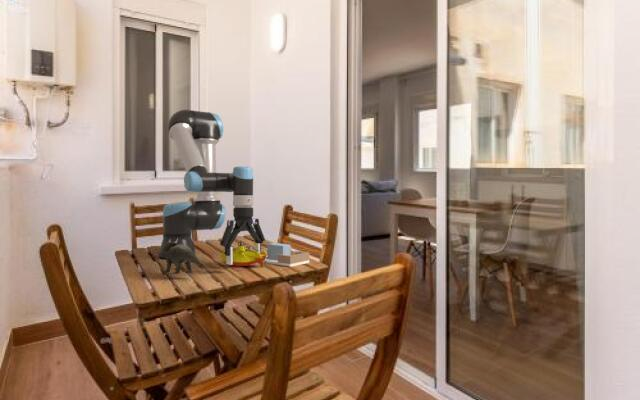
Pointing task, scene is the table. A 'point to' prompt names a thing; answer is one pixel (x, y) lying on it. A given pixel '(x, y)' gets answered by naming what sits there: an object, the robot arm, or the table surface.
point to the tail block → (277, 250)
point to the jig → (285, 258)
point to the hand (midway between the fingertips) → (243, 261)
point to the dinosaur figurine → (179, 256)
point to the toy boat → (246, 256)
